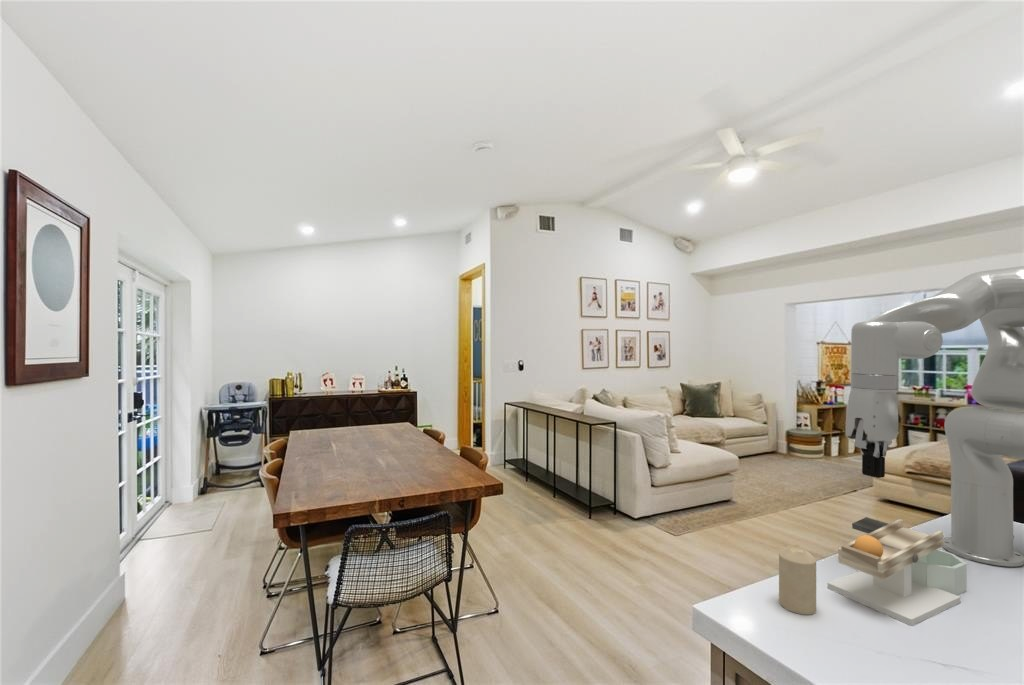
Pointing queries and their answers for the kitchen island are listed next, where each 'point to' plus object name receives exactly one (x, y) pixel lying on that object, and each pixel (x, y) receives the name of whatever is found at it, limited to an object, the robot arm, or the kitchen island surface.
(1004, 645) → the kitchen island surface
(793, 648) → the kitchen island surface
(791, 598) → the candle
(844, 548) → the lever
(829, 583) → the lever stand
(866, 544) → the ball
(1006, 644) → the kitchen island surface
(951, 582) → the pale green bowl
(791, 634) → the kitchen island surface
